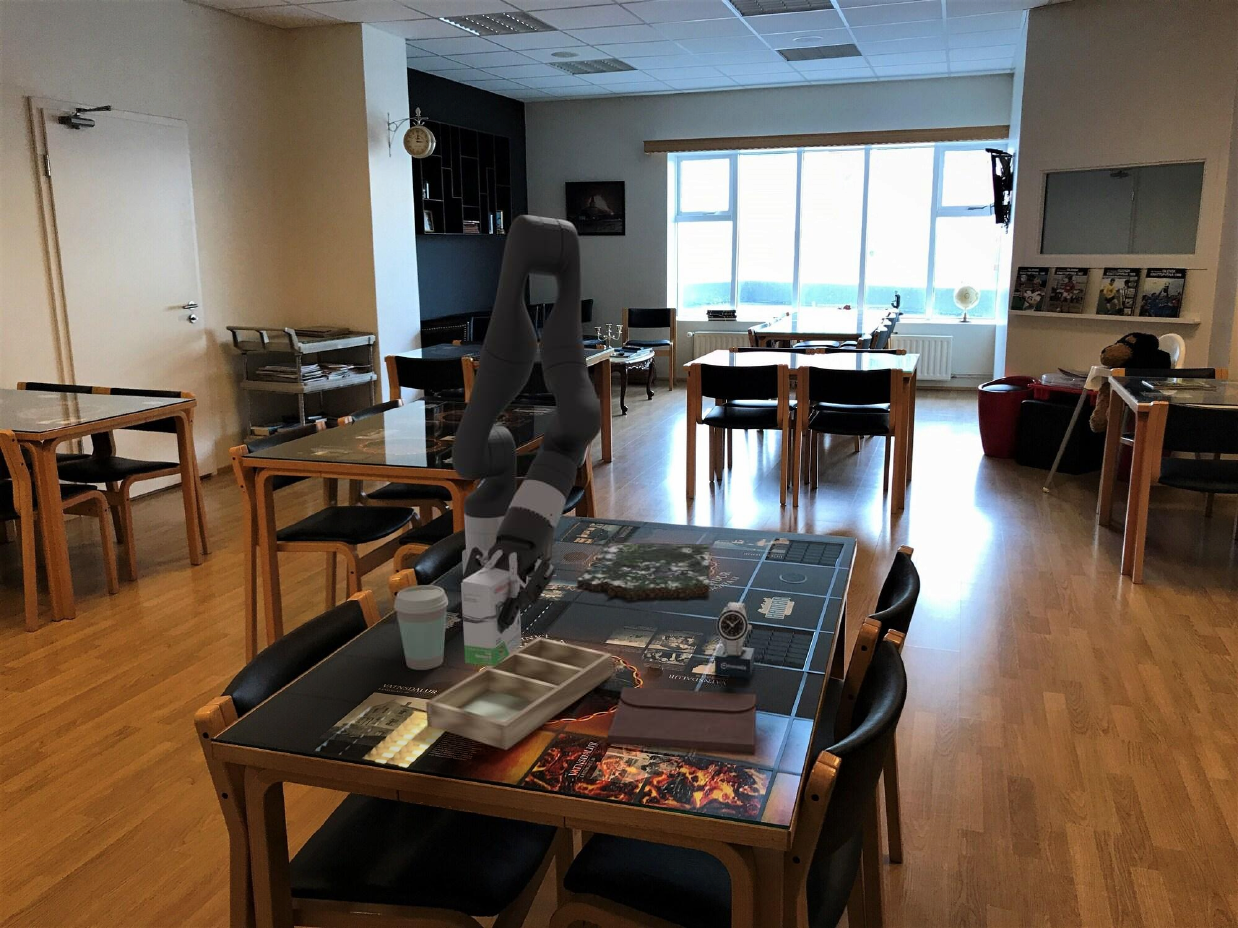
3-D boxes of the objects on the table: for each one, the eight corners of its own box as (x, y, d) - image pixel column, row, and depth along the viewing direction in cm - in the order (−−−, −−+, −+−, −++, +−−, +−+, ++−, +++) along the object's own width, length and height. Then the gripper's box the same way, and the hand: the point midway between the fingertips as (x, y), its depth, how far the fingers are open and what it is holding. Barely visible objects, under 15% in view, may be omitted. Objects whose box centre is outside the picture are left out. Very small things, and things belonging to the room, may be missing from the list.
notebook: (754, 756, 130) (754, 742, 129) (607, 747, 132) (607, 733, 132) (755, 705, 144) (756, 692, 144) (623, 697, 147) (623, 685, 146)
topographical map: (709, 551, 217) (709, 538, 216) (708, 603, 185) (708, 588, 184) (593, 549, 219) (593, 536, 218) (573, 601, 187) (572, 586, 187)
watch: (712, 679, 151) (713, 612, 149) (721, 658, 159) (722, 594, 157) (748, 683, 150) (749, 615, 148) (756, 662, 157) (757, 597, 155)
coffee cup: (460, 655, 162) (457, 586, 159) (434, 676, 154) (430, 604, 151) (415, 649, 164) (411, 581, 162) (387, 669, 156) (382, 598, 154)
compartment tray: (427, 725, 138) (426, 702, 137) (539, 656, 161) (538, 637, 160) (506, 749, 131) (505, 725, 130) (612, 674, 153) (611, 654, 153)
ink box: (495, 668, 133) (490, 586, 131) (463, 663, 135) (458, 582, 133) (523, 644, 141) (519, 566, 139) (492, 640, 143) (488, 563, 140)
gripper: (481, 499, 144) (430, 601, 136) (561, 510, 136) (513, 619, 129) (505, 525, 149) (458, 624, 142) (583, 537, 142) (538, 643, 134)
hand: (484, 621), depth 135 cm, fingers closed on ink box, 5 cm apart
